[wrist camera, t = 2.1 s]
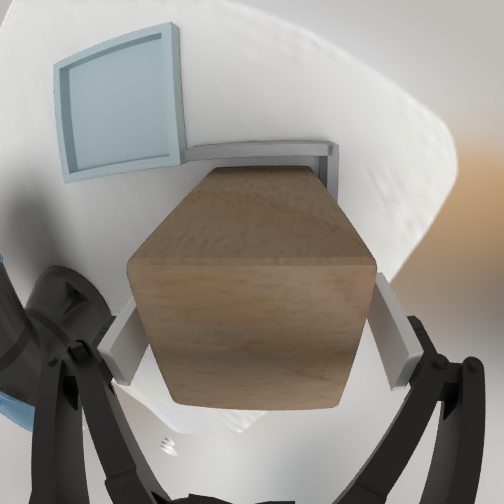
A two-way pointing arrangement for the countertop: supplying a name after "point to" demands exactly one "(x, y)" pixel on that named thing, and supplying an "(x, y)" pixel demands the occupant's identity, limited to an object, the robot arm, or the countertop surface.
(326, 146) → the bay
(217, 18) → the countertop surface
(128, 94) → the tray
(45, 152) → the countertop surface
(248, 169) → the wooden block
